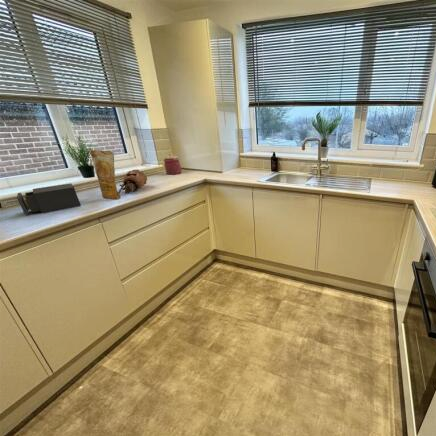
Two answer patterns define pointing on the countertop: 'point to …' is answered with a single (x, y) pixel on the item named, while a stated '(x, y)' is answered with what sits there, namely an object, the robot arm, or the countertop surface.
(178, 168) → the kitchen canister
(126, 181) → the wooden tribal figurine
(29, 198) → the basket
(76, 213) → the countertop surface
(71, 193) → the dark grey slanted block
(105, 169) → the pancake mix bag
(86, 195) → the countertop surface
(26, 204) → the block
